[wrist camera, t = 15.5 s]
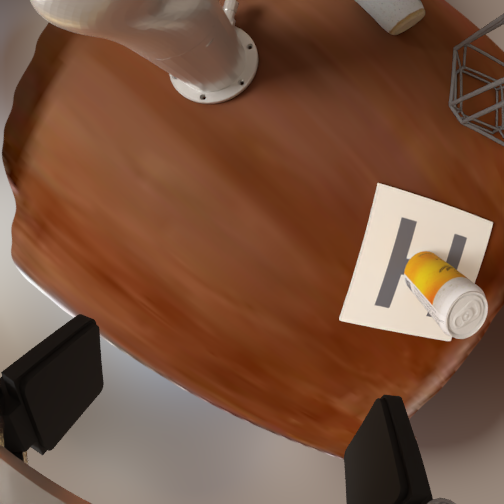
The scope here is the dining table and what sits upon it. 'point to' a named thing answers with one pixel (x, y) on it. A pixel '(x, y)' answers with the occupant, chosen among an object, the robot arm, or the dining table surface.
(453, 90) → the geometric lantern
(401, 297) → the letter board
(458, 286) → the beer can
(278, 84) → the dining table surface
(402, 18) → the ceramic mug
